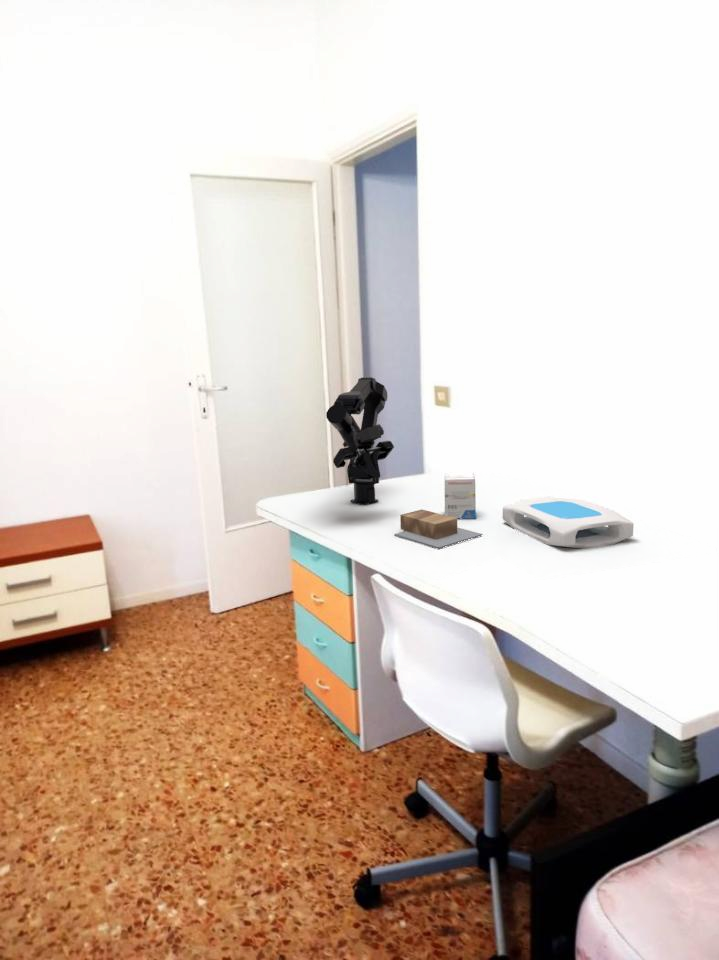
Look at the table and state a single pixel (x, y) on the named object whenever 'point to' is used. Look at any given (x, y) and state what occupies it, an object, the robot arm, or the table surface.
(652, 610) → the table surface
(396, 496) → the table surface
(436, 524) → the walnut domino block
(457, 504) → the ink box
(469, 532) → the mat
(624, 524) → the white blue plastic platform
